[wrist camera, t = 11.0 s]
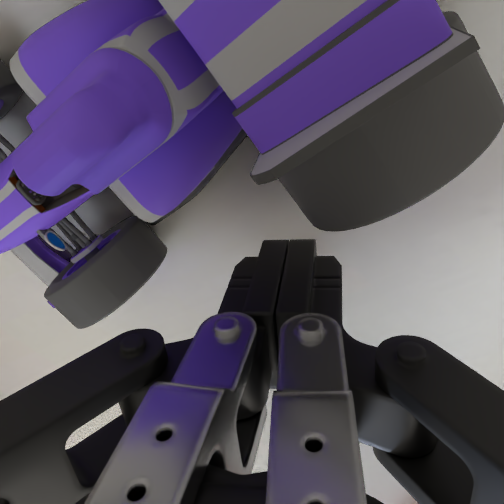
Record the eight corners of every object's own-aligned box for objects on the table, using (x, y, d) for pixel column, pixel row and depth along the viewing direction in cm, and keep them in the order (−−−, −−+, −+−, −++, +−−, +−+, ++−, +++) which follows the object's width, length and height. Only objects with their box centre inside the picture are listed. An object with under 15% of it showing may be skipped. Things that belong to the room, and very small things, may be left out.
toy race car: (-113, 114, 15) (-375, 193, 10) (254, -341, 9) (114, -864, 3) (95, 318, 18) (-12, 468, 13) (476, 85, 12) (593, 177, 6)
